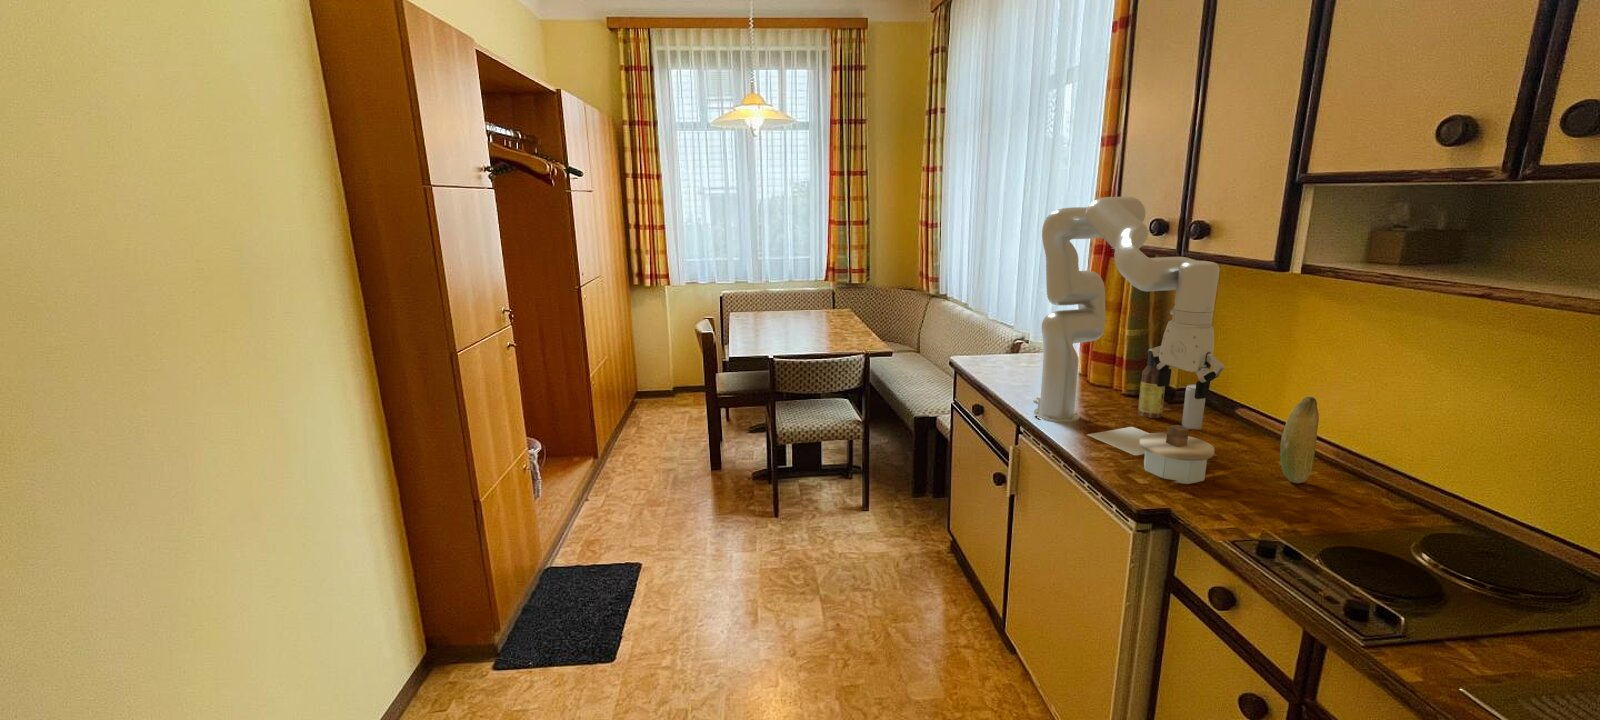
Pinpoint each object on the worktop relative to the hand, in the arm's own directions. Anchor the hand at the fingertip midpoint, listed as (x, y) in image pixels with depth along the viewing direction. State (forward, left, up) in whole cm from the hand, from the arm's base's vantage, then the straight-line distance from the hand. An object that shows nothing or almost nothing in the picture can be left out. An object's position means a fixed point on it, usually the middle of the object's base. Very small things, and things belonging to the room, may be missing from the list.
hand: (1181, 391), depth 146 cm
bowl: (0, 0, -19) cm, 19 cm away
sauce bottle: (-32, +28, -20) cm, 46 cm away
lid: (0, 0, -13) cm, 13 cm away
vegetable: (+14, +19, -20) cm, 31 cm away
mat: (-18, +7, -19) cm, 27 cm away
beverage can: (-20, +30, -20) cm, 41 cm away
